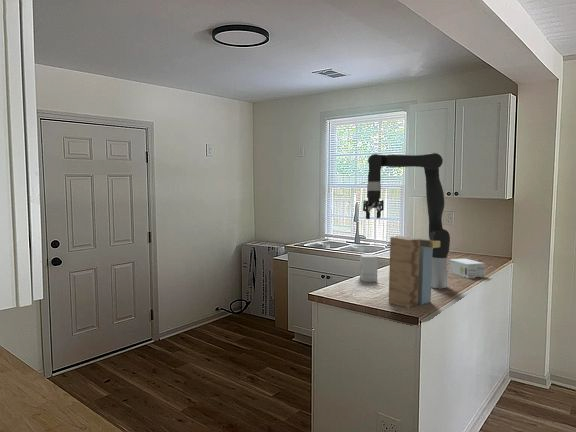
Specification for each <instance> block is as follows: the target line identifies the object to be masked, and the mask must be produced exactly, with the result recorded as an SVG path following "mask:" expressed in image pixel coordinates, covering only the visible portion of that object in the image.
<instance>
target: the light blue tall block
mask: <svg viewBox="0 0 576 432" xmlns="http://www.w3.org/2000/svg"><path fill="white" fill-rule="evenodd" d="M432 253H433V248H430V247H425V246H420V258H419V287H418V303H419V304H420V305H425V304H424V303H426V304H428V302H430V303H431V301H432V287H431V279H432ZM419 304H418V305H419Z"/></svg>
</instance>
